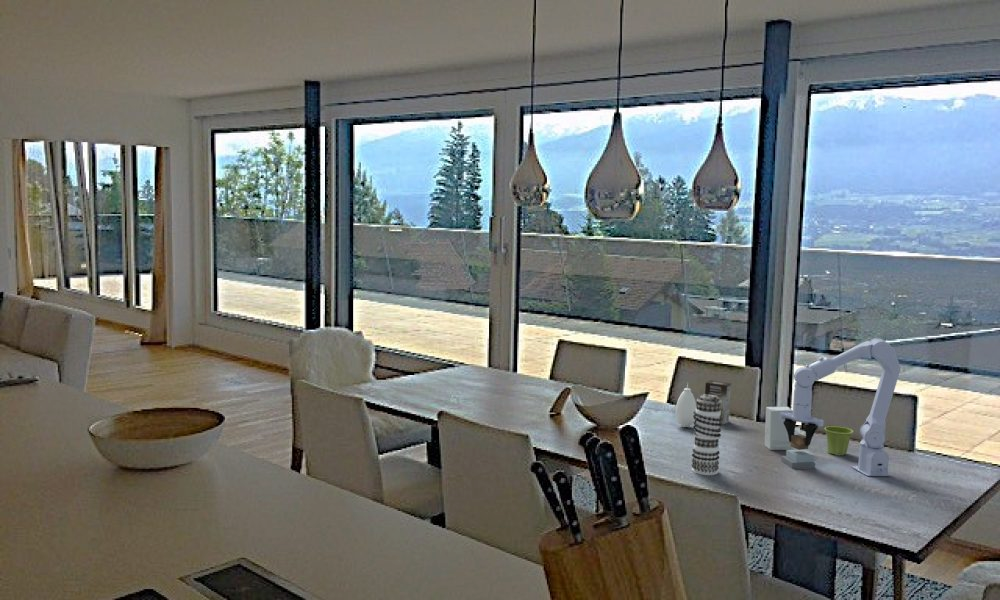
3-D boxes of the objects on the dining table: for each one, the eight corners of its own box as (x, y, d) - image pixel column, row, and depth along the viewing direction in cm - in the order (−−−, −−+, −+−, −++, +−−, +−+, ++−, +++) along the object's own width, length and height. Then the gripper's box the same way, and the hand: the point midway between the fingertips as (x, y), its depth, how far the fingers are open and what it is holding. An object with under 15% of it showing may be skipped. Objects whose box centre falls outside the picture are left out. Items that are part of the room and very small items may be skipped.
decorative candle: (684, 468, 277) (688, 393, 274) (707, 465, 280) (711, 392, 278) (701, 476, 268) (705, 399, 266) (725, 474, 272) (729, 397, 269)
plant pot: (853, 458, 294) (855, 434, 294) (825, 455, 296) (827, 431, 295) (848, 451, 304) (850, 427, 303) (820, 448, 305) (822, 425, 305)
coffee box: (702, 421, 342) (704, 382, 340) (707, 418, 347) (709, 379, 346) (724, 424, 337) (726, 385, 335) (729, 421, 342) (731, 382, 341)
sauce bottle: (699, 428, 330) (702, 383, 328) (685, 430, 326) (688, 384, 324) (684, 423, 337) (687, 379, 335) (670, 426, 332) (673, 381, 330)
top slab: (813, 462, 281) (814, 454, 281) (795, 462, 280) (796, 455, 280) (803, 456, 288) (804, 449, 288) (786, 457, 287) (786, 449, 286)
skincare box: (785, 446, 308) (788, 406, 306) (792, 450, 302) (794, 410, 300) (763, 445, 307) (765, 405, 306) (768, 450, 301) (771, 409, 300)
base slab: (814, 470, 281) (815, 462, 281) (791, 470, 280) (792, 462, 280) (803, 462, 289) (803, 455, 289) (781, 463, 288) (781, 455, 288)
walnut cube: (808, 448, 283) (809, 437, 283) (799, 449, 281) (799, 438, 281) (799, 445, 287) (800, 434, 286) (790, 446, 285) (791, 435, 285)
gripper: (828, 405, 280) (825, 445, 282) (786, 398, 290) (784, 436, 292) (819, 408, 275) (816, 449, 277) (777, 401, 285) (775, 440, 287)
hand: (799, 443), depth 284 cm, fingers closed on walnut cube, 5 cm apart
